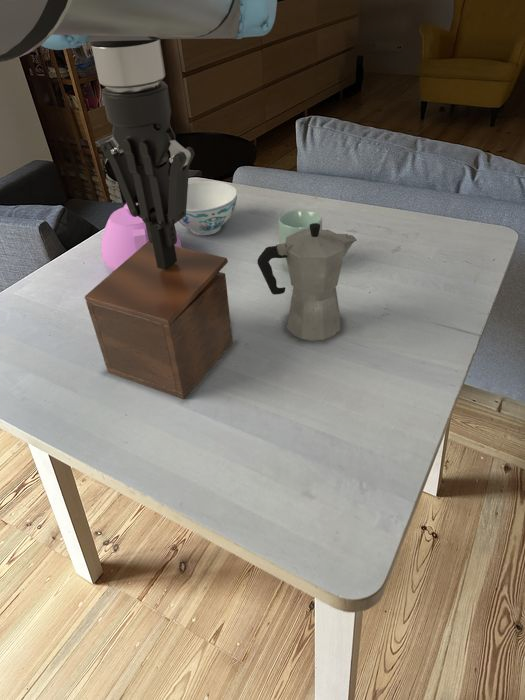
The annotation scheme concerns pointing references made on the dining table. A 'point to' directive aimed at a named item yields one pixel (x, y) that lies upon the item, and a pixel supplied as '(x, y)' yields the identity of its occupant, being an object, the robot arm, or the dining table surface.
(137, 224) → the teapot
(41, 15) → the robot arm
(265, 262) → the coffeepot
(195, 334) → the chest
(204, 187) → the chinaware
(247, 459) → the dining table surface
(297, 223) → the cup
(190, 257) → the lid
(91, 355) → the dining table surface
